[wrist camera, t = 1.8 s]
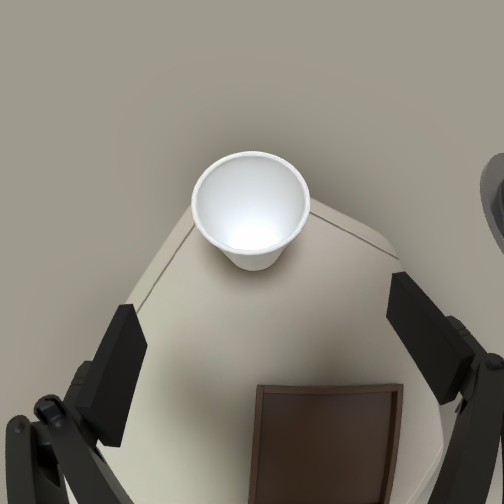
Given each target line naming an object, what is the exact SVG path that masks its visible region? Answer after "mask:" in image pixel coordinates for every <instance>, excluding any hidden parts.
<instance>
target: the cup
mask: <svg viewBox="0 0 504 504" xmlns="http://www.w3.org/2000/svg"><path fill="white" fill-rule="evenodd" d="M191 209H192V214H193V219H194V221H195V223H196V226H197V228H198V229H199V231H200V232H201V233H202V235H203V236H204V237H205V238H206V239H207V240H208V241H209V242H210V243H212V244H213V245H215V246H217V247H218V248H220V249H221V251H222V252H224V253H225V255H226V256H227V257H228V258H229V259H230V260H231V261H232V262H233V263H234V264H236V265H237V266H238V267H240V268H242V269H245V270H249V271H259V270H263V269H265V268H268V267H269V266H271V265H272V264H273V263H274V262H275V261H276V260H277V259H278V257H279V256H280V254H281V253H282V252H283V250H284V249H285V247H286V246H287V245H288V243H289V242H290V241H292V240H293V239H294V238H295V237H296V236H297V235H298V234H299V233H300V231H301V230H302V228H303V226H304V225H305V223H306V221H307V218H308V215H309V210H310V196H309V190H308V187H307V185H306V183H305V181H304V179H303V178H302V176H301V174H300V173H299V172H298V171H297V170H296V169H295V168H294V167H293V166H292V165H291V164H290V163H288V162H286V161H285V160H284V159H282V158H279V157H277V156H275V155H272V154H268V153H264V152H254V151H250V152H240V153H236V154H232V155H229V156H226V157H224V158H222V159H220V160H218V161H217V162H215V163H214V164H212V165H211V166H210V167H209V168H208V169H207V170H205V172H204V173H203V174H202V176H201V177H200V178H199V180H198V182H197V184H196V186H195V188H194V191H193V195H192V203H191Z"/></svg>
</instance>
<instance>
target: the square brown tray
mask: <svg viewBox="0 0 504 504" xmlns="http://www.w3.org/2000/svg"><path fill="white" fill-rule="evenodd" d="M403 387H404V385H403V384H384V385H365V386H329V387H310V386H273V385H257V391H256V406H255V420H254V434H253V448H252V461H251V474H250V487H249V499H248V504H389V501H390V496H391V491H392V486H393V480H394V474H395V467H396V461H397V453H398V446H399V437H400V427H401V417H402V404H403Z"/></svg>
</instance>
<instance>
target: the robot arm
mask: <svg viewBox="0 0 504 504" xmlns="http://www.w3.org/2000/svg"><path fill="white" fill-rule="evenodd" d="M503 196H504V184H503ZM386 318H387V319H388V321H389V322H390V324H391V325H392V327H393V328H394V330H395V331H396V333H397V334H398V336H399V338H400V339H401V341H402V342H403V344H404V345H405V347H406V349H407V350H408V352H409V353H410V355H411V357H412V358H413V360H414V362H415V363H416V365H417V367H418V368H419V370H420V371H421V373H422V375H423V376H424V378H425V380H426V382H427V383H428V385H429V387H430V388H431V390H432V392H433V393H434V395H435V397H436V399H437V400H438V402H439V404H440V405H443V404H446V403H448V402H451V401H453V400H455V398H456V396H457V394H458V392H459V391H460V393H461V395H462V396H463V397H462V399H461V401H460V403H459V405H458V406H457V408H456V410H455V413H457V411H458V413H457V418H456V421H455V425H454V429H453V432H452V436H451V439H450V443H449V446H448V450H447V453H446V456H445V459H444V462H443V465H442V467H441V470H440V473H439V476H438V478H437V481H436V484H435V486H434V489H433V491H432V494H431V496H430V499H429V501H428V504H485V502H486V499H487V496H488V492H489V488H490V484H491V480H492V476H493V472H494V468H495V462H496V458H497V453H498V447H499V442H500V435H501V444H502V461H503V462H502V463H503V499H502V504H504V359H503V358H502V357H501V356H499V355H497V354H494V353H487V352H486V351H485V350H484V349H483V347H482V346H481V345H480V344H479V342H477V340H476V339H475V338H474V337H473V336H472V335H471V333H470V332H469V331H468V330H467V329H466V327H465V326H464V325H463V324H462V323H461V322H460V320H458V319H456V318H455V317H453V316H447V317H445V316H444V315H443V313H442V312H441V311H440V310H439V309H438V308H437V306H436V305H435V304H434V303H433V302H432V301H431V300H430V298H429V297H428V296H427V295H426V294H425V293H424V292H423V291H422V289H421V288H420V287H419V286H418V285H417V284H416V283H415V282H414V281H413V280H412V279H411V278H410V276H409V275H408V274H407V273H406V272H398V273H392V280H391V287H390V295H389V302H388V308H387V314H386ZM147 346H148V345H147V343H146V340H145V337H144V334H143V332H142V329H141V326H140V323H139V320H138V318H137V315H136V312H135V309H134V306H133V304H124V305H119V307H118V309H117V310H116V312H115V315H114V316H113V319H112V321H111V323H110V325H109V327H108V329H107V331H106V333H105V335H104V337H103V339H102V341H101V344H100V345H99V348H98V350H97V352H96V354H95V356H94V359H93V361H84V363H83V364H82V365H81V366H80V367H79V368H78V369H77V372H76V373H75V376H74V378H73V380H72V382H71V385H70V387H69V389H68V391H67V393H66V395H65V398H64V400H63V402H62V401H61V400H60V398H59V397H58V396H56V395H46V396H44V397H42V398H40V399H39V400H38V402H37V403H36V404H35V406H34V414H35V415H36V417H37V418H38V419H39V420H40V421H38V422H30V421H29V419H27V417H26V416H23V415H17V416H15V417H13V418H12V419H11V420H10V421H9V422H8V424H7V427H6V447H5V448H6V451H5V453H6V454H5V455H6V456H5V457H6V485H7V498H8V504H69V499H68V495H67V490H66V485H65V480H64V476H65V478H66V480H67V482H68V484H69V486H70V489H71V491H72V493H73V495H74V497H75V498H76V500H77V502H78V504H134V503H133V501H132V500H131V499H130V497H129V496H128V494H127V493H126V492H125V490H124V489H123V487H122V486H121V484H120V483H119V481H118V480H117V478H116V477H115V475H114V473H113V472H112V470H111V469H110V467H109V465H108V464H107V462H106V460H105V459H104V457H103V455H102V454H101V452H100V450H99V449H98V448H97V446H96V444H97V440H98V439H99V440H100V442H101V443H102V444H103V445H104V446H110V447H120V446H121V441H122V437H123V433H124V429H125V425H126V421H127V417H128V413H129V410H130V406H131V402H132V398H133V395H134V391H135V387H136V384H137V380H138V377H139V373H140V370H141V366H142V363H143V359H144V356H145V353H146V349H147Z"/></svg>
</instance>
